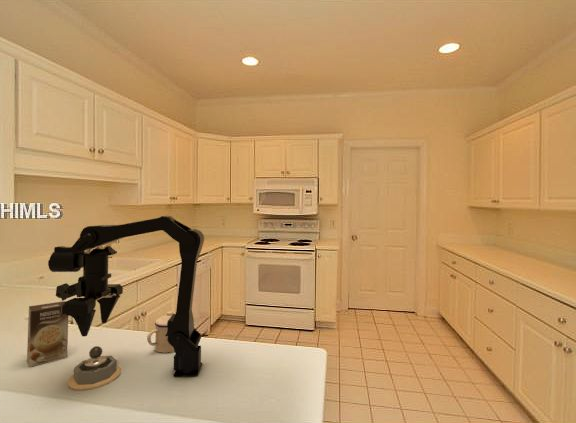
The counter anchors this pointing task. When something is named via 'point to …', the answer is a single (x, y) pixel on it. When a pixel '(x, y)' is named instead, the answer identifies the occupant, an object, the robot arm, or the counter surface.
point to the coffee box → (47, 334)
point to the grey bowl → (94, 375)
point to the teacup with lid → (161, 334)
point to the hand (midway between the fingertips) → (94, 329)
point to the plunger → (95, 358)
